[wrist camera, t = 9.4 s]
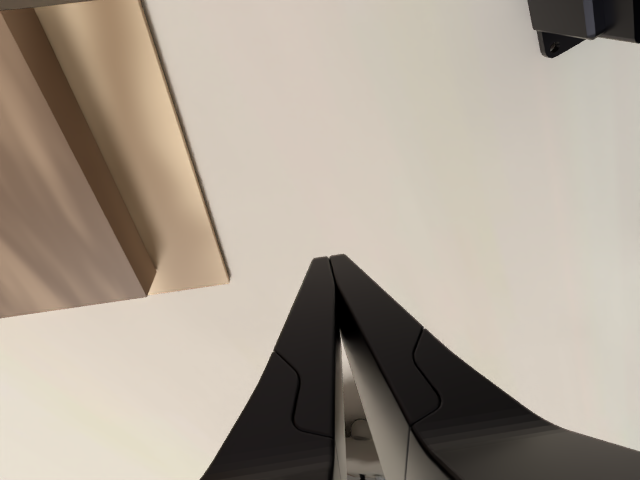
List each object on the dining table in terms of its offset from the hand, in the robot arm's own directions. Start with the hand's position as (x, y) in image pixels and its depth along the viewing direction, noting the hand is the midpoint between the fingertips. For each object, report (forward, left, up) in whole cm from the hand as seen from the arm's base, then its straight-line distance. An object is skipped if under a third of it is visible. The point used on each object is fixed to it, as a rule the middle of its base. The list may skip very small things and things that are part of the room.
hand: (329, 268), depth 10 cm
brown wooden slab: (+10, -4, -11) cm, 16 cm away
